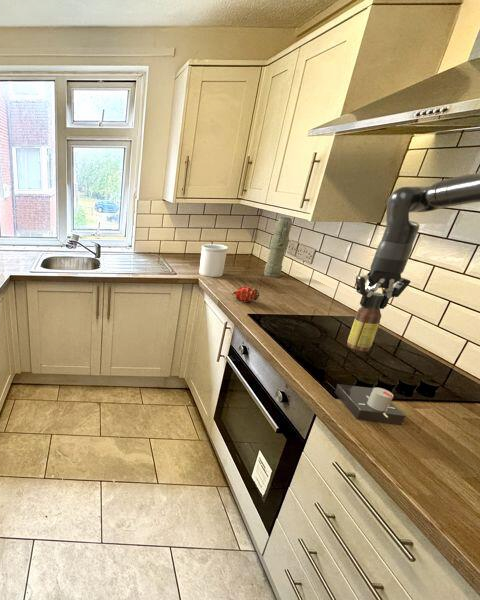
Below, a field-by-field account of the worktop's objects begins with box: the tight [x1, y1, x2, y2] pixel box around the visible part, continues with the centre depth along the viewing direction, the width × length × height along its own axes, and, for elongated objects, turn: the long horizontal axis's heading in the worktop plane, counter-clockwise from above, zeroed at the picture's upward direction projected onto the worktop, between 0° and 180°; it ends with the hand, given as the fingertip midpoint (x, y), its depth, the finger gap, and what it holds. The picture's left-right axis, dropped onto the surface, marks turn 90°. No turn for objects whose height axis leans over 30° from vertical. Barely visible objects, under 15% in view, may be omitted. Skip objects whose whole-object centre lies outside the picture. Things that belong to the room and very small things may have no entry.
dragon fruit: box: [232, 285, 260, 304], centre depth 155 cm, size 8×8×12 cm
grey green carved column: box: [263, 216, 293, 279], centre depth 189 cm, size 9×12×35 cm
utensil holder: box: [198, 243, 229, 278], centre depth 195 cm, size 15×15×18 cm
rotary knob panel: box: [334, 383, 406, 426], centre depth 85 cm, size 10×13×3 cm
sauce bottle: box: [346, 291, 384, 353], centre depth 104 cm, size 6×6×20 cm
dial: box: [367, 386, 394, 412], centre depth 82 cm, size 4×4×5 cm
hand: (372, 307), depth 102 cm, fingers closed on sauce bottle, 4 cm apart
